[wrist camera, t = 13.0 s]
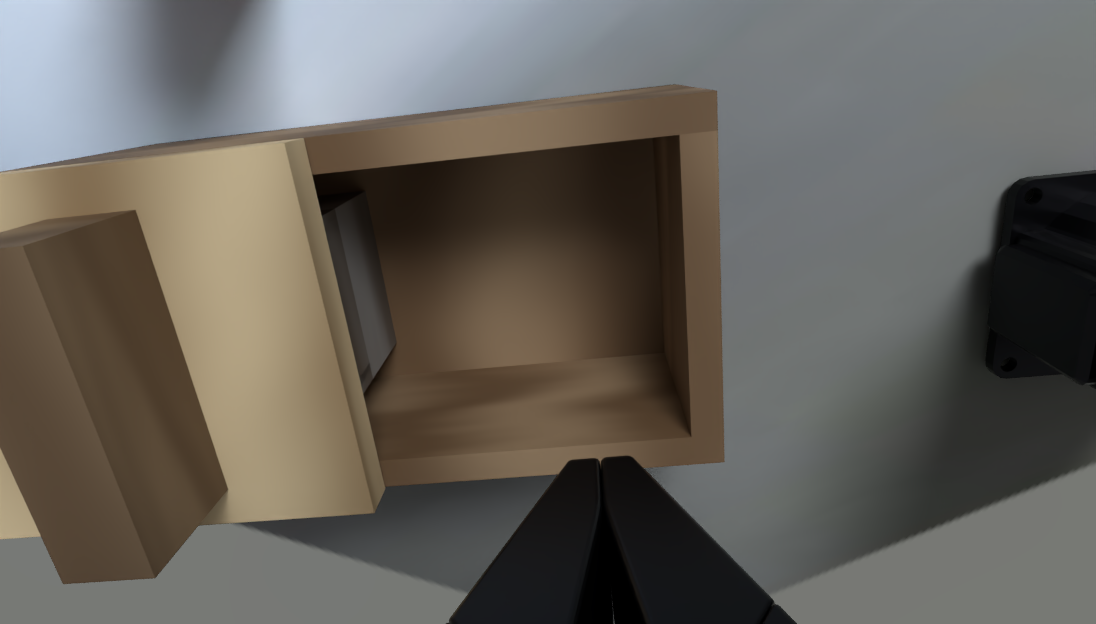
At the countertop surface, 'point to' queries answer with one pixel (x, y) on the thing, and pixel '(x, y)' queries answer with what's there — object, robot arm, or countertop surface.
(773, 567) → the countertop surface
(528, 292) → the wooden box
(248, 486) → the lid
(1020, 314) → the robot arm
